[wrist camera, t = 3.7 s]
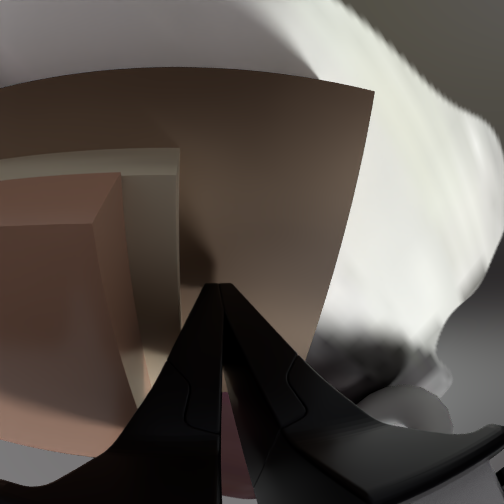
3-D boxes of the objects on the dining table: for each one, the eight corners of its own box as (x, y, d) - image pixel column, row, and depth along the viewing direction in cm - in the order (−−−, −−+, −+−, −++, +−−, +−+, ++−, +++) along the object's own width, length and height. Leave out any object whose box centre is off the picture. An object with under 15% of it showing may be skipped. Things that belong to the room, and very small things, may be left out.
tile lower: (185, 365, 12) (187, 410, 10) (4, 354, 10) (-9, 391, 8) (180, 147, 7) (175, 174, 6) (-64, 171, 6) (-102, 199, 4)
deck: (276, 323, 17) (296, 385, 14) (25, 322, 14) (3, 379, 11) (320, 80, 10) (374, 91, 7) (-29, 96, 8) (-91, 120, 4)
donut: (330, 426, 26) (362, 518, 18) (313, 418, 24) (347, 521, 16) (424, 369, 24) (474, 460, 16) (416, 355, 22) (473, 457, 14)
